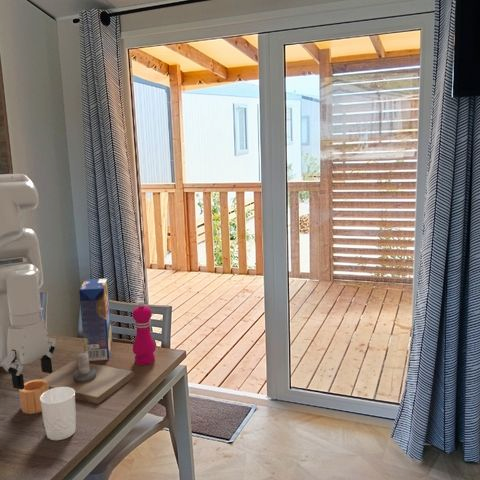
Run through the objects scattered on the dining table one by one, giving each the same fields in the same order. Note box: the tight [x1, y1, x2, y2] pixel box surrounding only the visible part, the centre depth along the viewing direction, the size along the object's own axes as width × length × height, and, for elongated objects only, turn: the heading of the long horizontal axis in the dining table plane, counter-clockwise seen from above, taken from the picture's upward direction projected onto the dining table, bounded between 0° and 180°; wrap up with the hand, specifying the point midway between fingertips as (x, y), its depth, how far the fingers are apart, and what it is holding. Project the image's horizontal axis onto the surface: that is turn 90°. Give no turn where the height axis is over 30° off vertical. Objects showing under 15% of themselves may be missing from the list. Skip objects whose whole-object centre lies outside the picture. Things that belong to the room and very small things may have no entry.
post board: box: [41, 352, 134, 405], centre depth 142 cm, size 22×16×9 cm
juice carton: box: [78, 277, 113, 362], centre depth 161 cm, size 12×8×24 cm, turn 9°
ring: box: [18, 378, 49, 415], centre depth 130 cm, size 7×7×6 cm
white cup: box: [40, 387, 77, 441], centre depth 117 cm, size 8×8×10 cm
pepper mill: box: [132, 300, 157, 366], centre depth 155 cm, size 7×7×20 cm
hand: (33, 380), depth 128 cm, fingers open, 9 cm apart
